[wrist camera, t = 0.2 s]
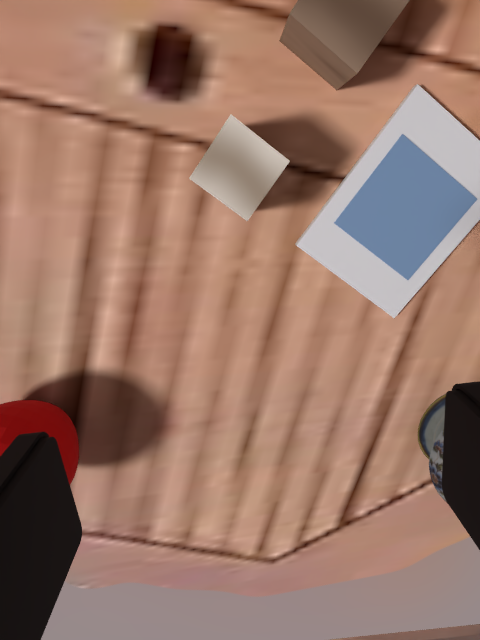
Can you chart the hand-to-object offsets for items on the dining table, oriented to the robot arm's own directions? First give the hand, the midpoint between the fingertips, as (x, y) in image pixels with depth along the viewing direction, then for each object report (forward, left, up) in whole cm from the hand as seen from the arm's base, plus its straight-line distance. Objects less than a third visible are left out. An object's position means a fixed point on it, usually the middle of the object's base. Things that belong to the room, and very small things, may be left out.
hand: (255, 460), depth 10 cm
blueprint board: (-12, +10, -31) cm, 34 cm away
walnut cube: (-19, -4, -31) cm, 36 cm away
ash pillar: (-6, -4, -31) cm, 32 cm away
